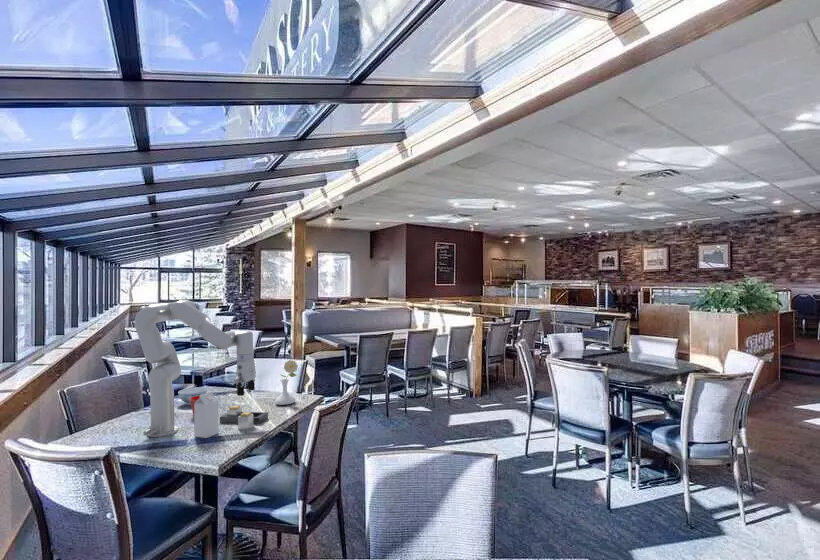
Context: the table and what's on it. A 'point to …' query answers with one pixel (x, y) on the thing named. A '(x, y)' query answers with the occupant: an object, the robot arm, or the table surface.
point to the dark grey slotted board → (257, 416)
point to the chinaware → (191, 393)
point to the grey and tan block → (245, 421)
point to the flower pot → (194, 402)
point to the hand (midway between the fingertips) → (246, 392)
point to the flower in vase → (285, 396)
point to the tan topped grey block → (234, 411)
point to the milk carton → (206, 416)
